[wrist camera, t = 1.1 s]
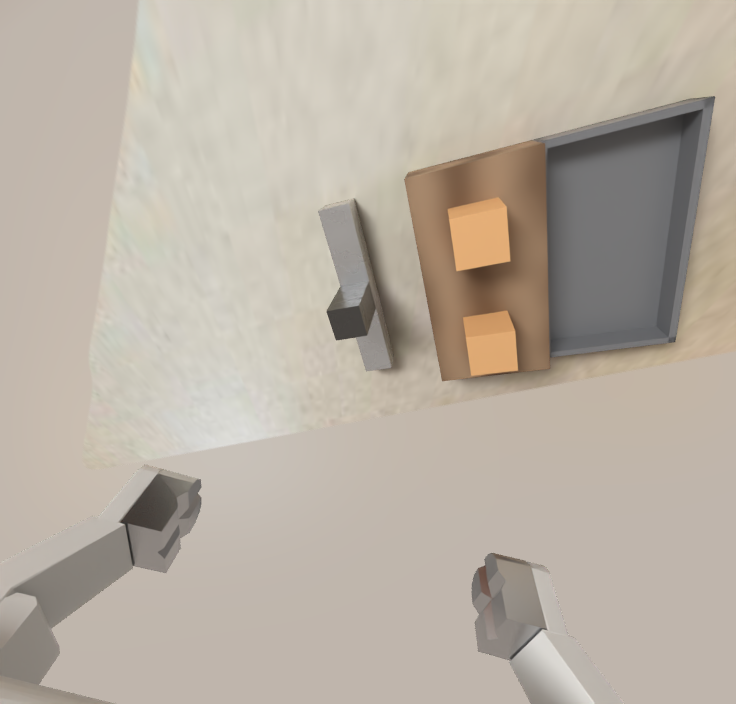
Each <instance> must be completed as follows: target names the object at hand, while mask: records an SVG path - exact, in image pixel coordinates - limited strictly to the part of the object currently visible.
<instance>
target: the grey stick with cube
mask: <svg viewBox="0 0 736 704" xmlns="http://www.w3.org/2000/svg"><path fill="white" fill-rule="evenodd" d="M318 212H319V216H320V219H321V222H322V226H323V229H324V232H325V236H326V239H327V242H328V246H329V249H330V252H331V256H332V259H333V262H334V266H335V269H336V272H337V276H338V279H339V282H340V286H341V287H340V288H339V290H338V292H337V294H336V295H335V297H334V299H333V301H332V302H331V304H330V306H329V308H328V309H327V314H328V317H329V320H330V323H331V326H332V329H333V332H334V335H335V338H336V340H342V339H348V338H355V337H356V339H357V342H358V345H359V349H360V352H361V355H362V359H363V362H364V365H365V369H366V371H371V370H379V369H387V368H392V363H393V357H394V354H393V350H392V346H391V342H390V338H389V334H388V330H387V326H386V322H385V318H384V314H383V310H382V306H381V302H380V298H379V294H378V290H377V287H376V283H375V279H374V275H373V271H372V267H371V263H370V259H369V255H368V251H367V247H366V243H365V239H364V235H363V231H362V227H361V223H360V219H359V215H358V211H357V207H356V203H355V199H354V198H353V199H349V200H345V201H341V202H337V203H333V204H329V205H325V206H324V207H323V208H321V209H320V210H319V211H318Z"/></svg>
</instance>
